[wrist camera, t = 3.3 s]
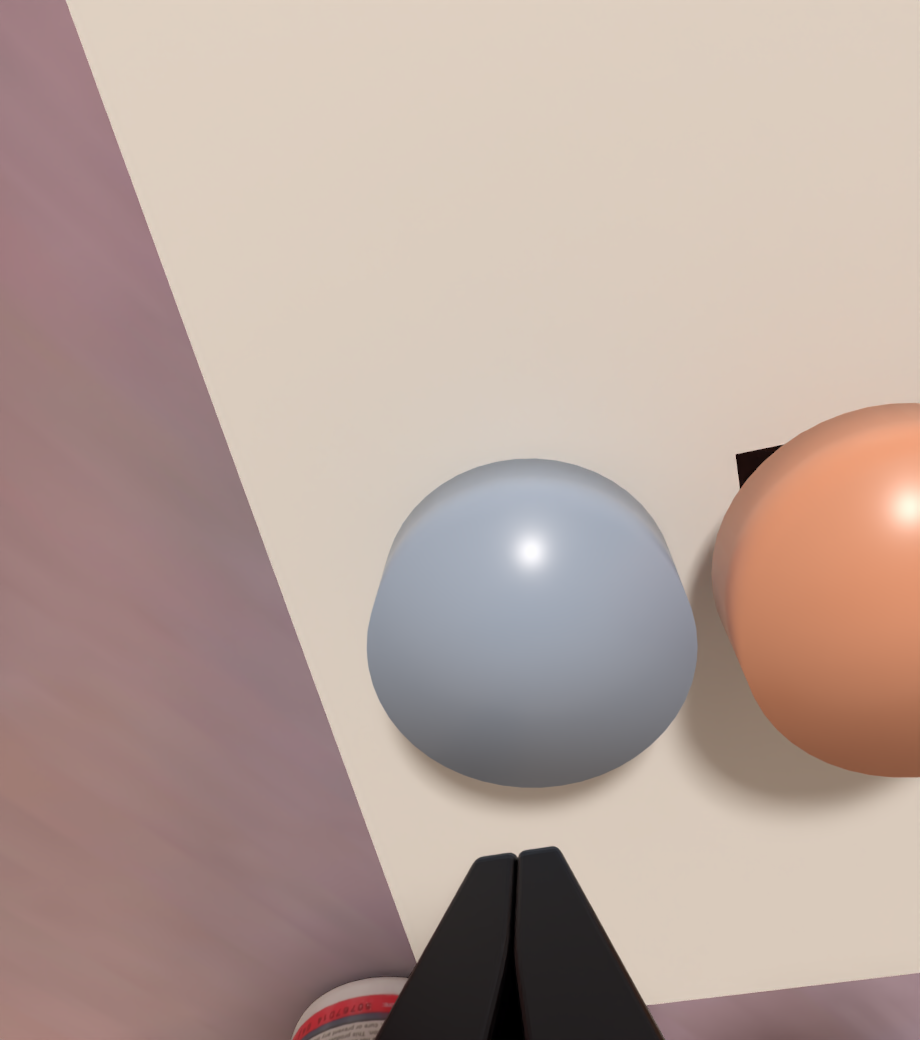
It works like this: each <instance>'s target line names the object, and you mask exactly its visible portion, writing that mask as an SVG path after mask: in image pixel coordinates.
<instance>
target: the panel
mask: <svg viewBox="0 0 920 1040" xmlns="http://www.w3.org/2000/svg"><path fill="white" fill-rule="evenodd" d="M66 2H67V5H68V8H69V10H70V13H71V16H72V19H73V21H74V24H75V27H76V30H77V32H78V35H79V38H80V41H81V43H82V46H83V49H84V52H85V54H86V57H87V60H88V63H89V65H90V68H91V71H92V73H93V76H94V79H95V82H96V84H97V87H98V90H99V93H100V95H101V98H102V101H103V104H104V106H105V109H106V112H107V115H108V117H109V120H110V123H111V126H112V128H113V131H114V134H115V137H116V139H117V142H118V145H119V148H120V150H121V153H122V156H123V159H124V161H125V164H126V167H127V169H128V172H129V175H130V178H131V180H132V183H133V186H134V189H135V191H136V194H137V197H138V200H139V202H140V205H141V208H142V211H143V213H144V216H145V219H146V222H147V224H148V227H149V230H150V233H151V235H152V238H153V241H154V244H155V246H156V249H157V252H158V255H159V257H160V260H161V263H162V265H163V268H164V271H165V274H166V276H167V279H168V282H169V285H170V287H171V290H172V293H173V296H174V298H175V301H176V304H177V307H178V309H179V312H180V315H181V318H182V320H183V323H184V326H185V329H186V331H187V334H188V337H189V340H190V342H191V345H192V348H193V351H194V353H195V356H196V359H197V362H198V364H199V367H200V370H201V372H202V375H203V378H204V381H205V383H206V386H207V389H208V392H209V394H210V397H211V400H212V403H213V405H214V408H215V411H216V414H217V416H218V419H219V422H220V425H221V427H222V430H223V433H224V436H225V438H226V441H227V444H228V447H229V449H230V452H231V455H232V458H233V460H234V463H235V466H236V468H237V471H238V474H239V477H240V479H241V482H242V485H243V488H244V490H245V493H246V496H247V499H248V501H249V504H250V507H251V510H252V512H253V515H254V518H255V521H256V523H257V526H258V529H259V532H260V534H261V537H262V540H263V543H264V545H265V548H266V551H267V554H268V556H269V559H270V562H271V564H272V567H273V570H274V573H275V575H276V578H277V581H278V584H279V586H280V589H281V592H282V595H283V597H284V600H285V603H286V606H287V608H288V611H289V614H290V617H291V619H292V622H293V625H294V628H295V630H296V633H297V636H298V639H299V641H300V644H301V647H302V650H303V652H304V655H305V658H306V661H307V663H308V666H309V669H310V671H311V674H312V677H313V680H314V682H315V685H316V688H317V691H318V693H319V696H320V699H321V702H322V704H323V707H324V710H325V713H326V715H327V718H328V721H329V724H330V726H331V729H332V732H333V735H334V737H335V740H336V743H337V746H338V748H339V751H340V754H341V757H342V759H343V762H344V765H345V767H346V770H347V773H348V776H349V778H350V781H351V784H352V787H353V789H354V792H355V795H356V798H357V800H358V803H359V806H360V809H361V811H362V814H363V817H364V820H365V822H366V825H367V828H368V831H369V833H370V836H371V839H372V842H373V844H374V847H375V850H376V853H377V855H378V858H379V861H380V864H381V866H382V869H383V872H384V874H385V877H386V880H387V883H388V885H389V888H390V891H391V894H392V896H393V899H394V902H395V905H396V907H397V910H398V913H399V916H400V918H401V921H402V924H403V927H404V929H405V932H406V935H407V938H408V940H409V943H410V946H411V949H412V951H413V954H414V957H415V960H416V962H418V960H419V958H420V957H421V955H422V953H423V951H424V949H425V948H426V946H427V944H428V942H429V941H430V939H431V937H432V935H433V933H434V932H435V930H436V928H437V926H438V925H439V923H440V921H441V919H442V917H443V916H444V914H445V912H446V910H447V908H448V907H449V905H450V903H451V901H452V900H453V898H454V896H455V894H456V892H457V891H458V889H459V887H460V885H461V883H462V882H463V880H464V878H465V876H466V875H467V873H468V871H469V869H470V867H471V866H472V864H473V862H474V861H475V860H476V859H478V858H479V857H482V856H489V855H496V854H502V853H513V854H515V855H516V856H517V857H518V856H519V854H520V853H521V852H522V851H524V850H529V849H536V848H543V847H550V846H555V847H557V848H559V849H560V850H561V852H562V854H563V855H564V857H565V859H566V861H567V863H568V864H569V866H570V868H571V870H572V872H573V874H574V875H575V877H576V879H577V881H578V883H579V884H580V886H581V888H582V890H583V892H584V893H585V895H586V897H587V899H588V901H589V903H590V904H591V906H592V908H593V910H594V912H595V913H596V915H597V917H598V919H599V921H600V922H601V924H602V926H603V928H604V930H605V932H606V933H607V935H608V937H609V939H610V941H611V942H612V944H613V946H614V948H615V950H616V952H617V953H618V955H619V957H620V959H621V961H622V962H623V964H624V966H625V968H626V970H627V971H628V973H629V975H630V977H631V979H632V981H633V982H634V984H635V986H636V988H637V990H638V991H639V993H640V995H641V997H642V999H643V1000H644V1002H645V1004H646V1005H653V1004H661V1003H670V1002H678V1001H686V1000H695V999H703V998H712V997H720V996H729V995H737V994H745V993H754V992H762V991H771V990H779V989H788V988H796V987H804V986H813V985H821V984H830V983H838V982H847V981H855V980H863V979H872V978H880V977H889V976H897V975H905V974H914V973H920V777H884V776H874V775H867V774H863V773H858V772H854V771H849V770H846V769H843V768H840V767H837V766H834V765H831V764H828V763H826V762H824V761H822V760H820V759H818V758H816V757H814V756H812V755H810V754H808V753H806V752H805V751H803V750H802V749H800V748H799V747H797V746H796V745H794V744H793V743H791V742H790V741H789V740H788V739H787V738H786V737H785V736H784V735H782V734H781V733H780V732H779V731H778V730H777V729H776V728H775V727H774V726H773V724H772V723H771V722H770V721H769V720H768V718H767V717H766V716H765V715H764V713H763V712H762V710H761V708H760V707H759V705H758V703H757V702H756V700H755V698H754V696H753V694H752V692H751V689H750V687H749V685H748V682H747V680H746V678H745V675H744V673H743V671H742V668H741V666H740V664H739V661H738V659H737V657H736V654H735V652H734V650H733V647H732V645H731V643H730V640H729V638H728V636H727V633H726V631H725V629H724V626H723V624H722V622H721V619H720V617H719V614H718V612H717V609H716V604H715V600H714V596H713V591H712V577H711V570H712V557H713V551H714V547H715V542H716V538H717V534H718V532H719V529H720V526H721V524H722V521H723V518H724V516H725V514H726V512H727V510H728V508H729V506H730V505H731V503H732V501H733V499H734V497H735V496H736V494H737V493H738V492H739V490H740V486H739V478H738V470H737V463H736V455H735V454H740V453H745V452H749V451H754V450H759V449H764V448H769V447H774V446H779V445H784V444H786V443H787V442H789V441H790V440H792V439H793V438H795V437H796V436H797V435H799V434H800V433H802V432H804V431H806V430H808V429H810V428H812V427H814V426H816V425H817V424H819V423H821V422H824V421H826V420H829V419H831V418H834V417H836V416H839V415H841V414H844V413H848V412H851V411H855V410H859V409H862V408H866V407H872V406H879V405H885V404H894V403H920V0H66ZM534 458H537V459H547V460H556V461H561V462H565V463H570V464H574V465H578V466H580V467H583V468H586V469H588V470H591V471H594V472H596V473H598V474H600V475H602V476H604V477H606V478H608V479H610V480H612V481H613V482H615V483H616V484H617V485H619V486H620V487H622V488H623V489H625V490H626V491H627V492H629V493H630V494H631V495H632V496H633V497H634V498H635V499H636V500H637V501H638V502H639V503H641V504H642V505H643V507H644V508H645V509H646V510H647V512H648V513H649V514H650V515H651V517H652V518H653V519H654V521H655V522H656V524H657V526H658V527H659V529H660V531H661V532H662V534H663V536H664V538H665V541H666V543H667V546H668V548H669V551H670V553H671V556H672V558H673V561H674V564H675V566H676V569H677V572H678V574H679V577H680V580H681V582H682V585H683V588H684V590H685V593H686V595H687V598H688V601H689V603H690V606H691V609H692V613H693V617H694V621H695V625H696V632H697V644H698V648H697V662H696V668H695V673H694V677H693V681H692V685H691V687H690V690H689V692H688V695H687V697H686V700H685V702H684V703H683V705H682V707H681V709H680V710H679V712H678V714H677V716H676V717H675V719H674V720H673V721H672V722H671V724H670V725H669V726H668V728H667V729H666V730H665V732H664V733H663V734H662V735H661V736H660V737H659V738H658V739H657V740H656V741H655V742H654V743H653V744H652V745H650V746H649V747H648V748H647V749H645V750H644V751H643V752H641V753H640V754H639V755H638V756H636V757H635V758H633V759H631V760H630V761H628V762H626V763H625V764H623V765H621V766H620V767H618V768H616V769H613V770H611V771H609V772H607V773H605V774H602V775H600V776H597V777H594V778H591V779H588V780H585V781H582V782H577V783H572V784H567V785H563V786H553V787H544V788H521V787H511V786H502V785H497V784H492V783H488V782H483V781H480V780H477V779H474V778H471V777H468V776H465V775H462V774H460V773H458V772H455V771H453V770H451V769H449V768H447V767H445V766H443V765H441V764H440V763H438V762H436V761H435V760H433V759H431V758H430V757H428V756H427V755H426V754H424V753H423V752H422V751H420V750H419V749H418V748H417V747H415V746H414V745H413V744H412V743H411V742H410V741H409V740H408V739H407V738H406V737H405V736H404V735H403V734H402V733H401V732H400V731H399V730H398V728H397V727H396V726H395V725H394V723H393V722H392V721H391V719H390V718H389V717H388V715H387V713H386V712H385V710H384V708H383V706H382V705H381V703H380V701H379V699H378V696H377V694H376V692H375V689H374V687H373V684H372V680H371V676H370V672H369V668H368V659H367V631H368V626H369V621H370V617H371V612H372V609H373V605H374V602H375V598H376V595H377V591H378V588H379V585H380V581H381V578H382V574H383V571H384V568H385V564H386V561H387V557H388V554H389V552H390V549H391V546H392V543H393V541H394V538H395V537H396V535H397V533H398V531H399V529H400V527H401V526H402V524H403V522H404V521H405V520H406V518H407V517H408V516H409V514H410V513H411V512H412V510H413V509H414V508H415V507H416V506H417V505H418V504H419V503H420V502H421V501H422V500H423V499H424V498H425V497H426V496H427V495H428V494H430V493H431V492H432V491H434V490H435V489H436V488H438V487H439V486H440V485H442V484H443V483H445V482H447V481H448V480H450V479H452V478H454V477H455V476H457V475H459V474H461V473H464V472H466V471H469V470H471V469H473V468H476V467H479V466H483V465H486V464H490V463H493V462H498V461H505V460H512V459H534Z"/></svg>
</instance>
